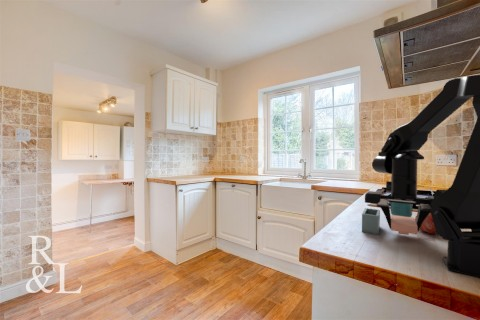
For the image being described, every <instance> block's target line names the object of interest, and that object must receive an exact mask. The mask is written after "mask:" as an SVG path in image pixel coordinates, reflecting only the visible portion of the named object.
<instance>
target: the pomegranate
mask: <svg viewBox="0 0 480 320" xmlns="http://www.w3.org/2000/svg"><path fill="white" fill-rule="evenodd" d="M414 218H415V221H416V219H417V215H415V217H414ZM419 230H422V232H426V233H428V234H431V235H437V233H436V230H435V226H434V223H433V219H432V215H431V213H429V214H428V216H427V217H426V218H425V220H424V221H423V223H422V225H421V227H420V229H419Z"/></svg>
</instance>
